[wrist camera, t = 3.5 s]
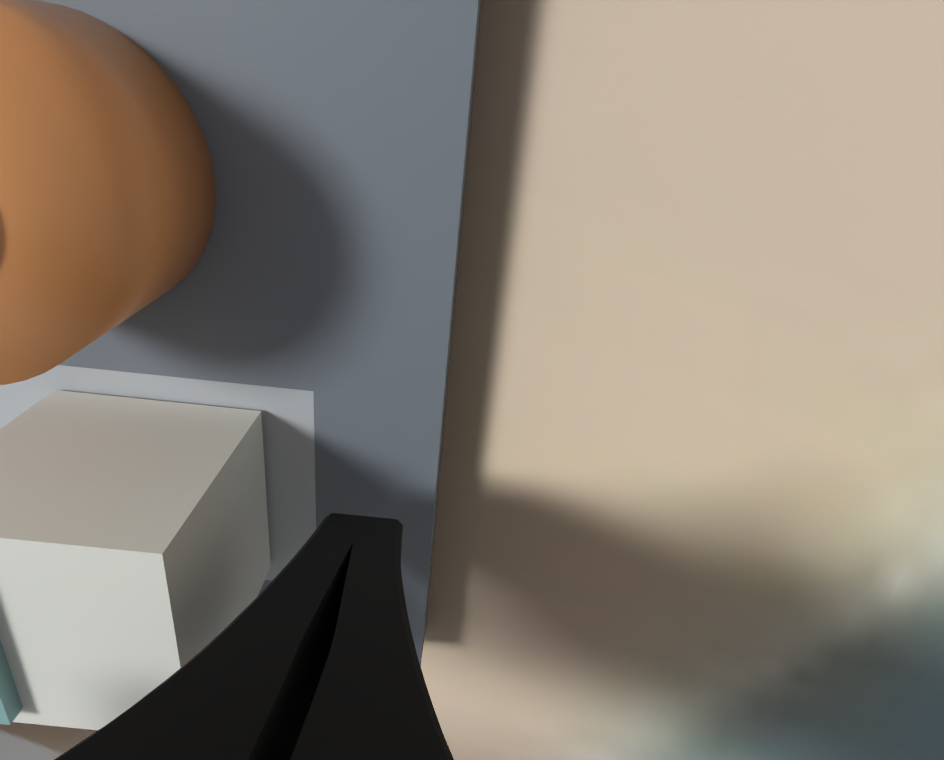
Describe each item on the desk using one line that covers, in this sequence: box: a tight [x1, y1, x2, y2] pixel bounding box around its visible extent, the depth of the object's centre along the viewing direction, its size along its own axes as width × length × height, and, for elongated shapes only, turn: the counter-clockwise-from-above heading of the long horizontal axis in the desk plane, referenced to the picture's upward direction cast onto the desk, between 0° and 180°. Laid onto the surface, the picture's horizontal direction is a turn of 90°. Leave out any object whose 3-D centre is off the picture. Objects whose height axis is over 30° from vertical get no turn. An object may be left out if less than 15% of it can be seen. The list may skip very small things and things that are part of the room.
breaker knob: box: [0, 390, 271, 730], centre depth 11 cm, size 4×4×4 cm
